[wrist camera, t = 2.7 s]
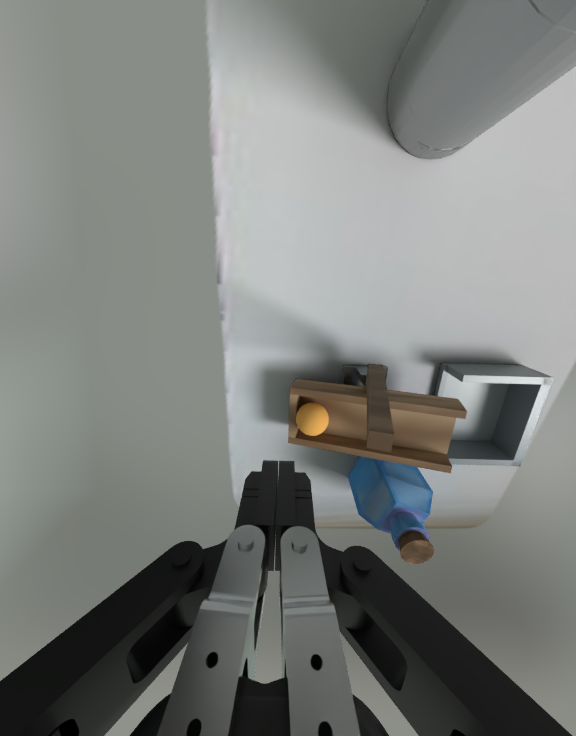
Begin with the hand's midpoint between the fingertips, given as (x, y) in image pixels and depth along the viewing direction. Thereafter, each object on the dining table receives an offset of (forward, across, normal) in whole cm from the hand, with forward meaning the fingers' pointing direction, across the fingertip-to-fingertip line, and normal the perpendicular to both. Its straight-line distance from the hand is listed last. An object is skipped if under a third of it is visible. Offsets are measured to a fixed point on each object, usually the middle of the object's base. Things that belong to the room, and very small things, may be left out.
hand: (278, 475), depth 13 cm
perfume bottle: (+20, -13, +15) cm, 29 cm away
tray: (+20, -23, +6) cm, 31 cm away
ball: (+16, -3, +6) cm, 17 cm away
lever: (+17, -10, +4) cm, 20 cm away
